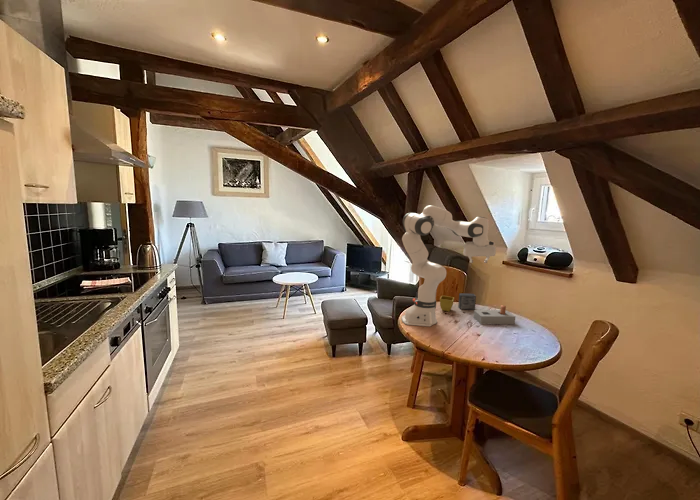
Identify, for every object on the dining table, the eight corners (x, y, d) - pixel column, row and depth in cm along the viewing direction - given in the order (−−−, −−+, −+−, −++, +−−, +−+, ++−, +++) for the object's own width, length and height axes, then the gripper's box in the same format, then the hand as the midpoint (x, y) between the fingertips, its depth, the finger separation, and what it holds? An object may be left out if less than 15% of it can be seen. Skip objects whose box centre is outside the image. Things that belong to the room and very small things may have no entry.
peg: (500, 321, 204) (502, 306, 202) (498, 319, 207) (499, 305, 205) (505, 321, 204) (506, 306, 202) (503, 319, 207) (504, 305, 205)
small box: (472, 307, 231) (473, 293, 229) (475, 310, 224) (476, 296, 223) (458, 306, 232) (458, 292, 230) (460, 309, 225) (461, 295, 224)
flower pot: (453, 309, 226) (454, 297, 224) (451, 313, 218) (452, 300, 217) (441, 307, 230) (441, 295, 228) (439, 311, 222) (439, 298, 220)
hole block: (480, 323, 200) (481, 316, 199) (473, 317, 211) (474, 310, 210) (514, 324, 200) (515, 316, 199) (506, 317, 211) (506, 310, 210)
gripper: (466, 242, 200) (464, 263, 203) (497, 242, 201) (495, 263, 203) (462, 241, 207) (461, 261, 209) (493, 241, 207) (491, 261, 209)
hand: (478, 262), depth 206 cm, fingers open, 8 cm apart
